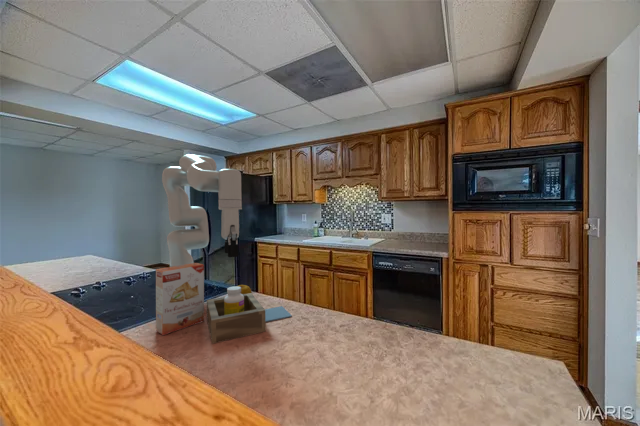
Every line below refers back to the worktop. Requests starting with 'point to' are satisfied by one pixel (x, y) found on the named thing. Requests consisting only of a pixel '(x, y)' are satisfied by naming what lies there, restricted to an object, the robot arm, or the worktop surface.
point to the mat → (276, 314)
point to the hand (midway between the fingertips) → (231, 254)
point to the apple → (245, 289)
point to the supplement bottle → (233, 301)
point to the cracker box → (179, 297)
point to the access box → (235, 319)
